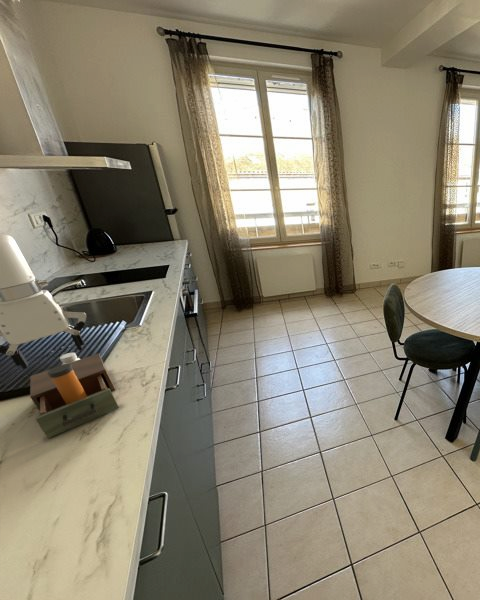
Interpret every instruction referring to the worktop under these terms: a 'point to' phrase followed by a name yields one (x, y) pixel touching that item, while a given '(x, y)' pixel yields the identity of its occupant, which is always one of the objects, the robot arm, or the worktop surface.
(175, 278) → the worktop surface
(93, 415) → the drawer
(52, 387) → the cabinet
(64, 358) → the pill bottle
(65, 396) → the spice jar
